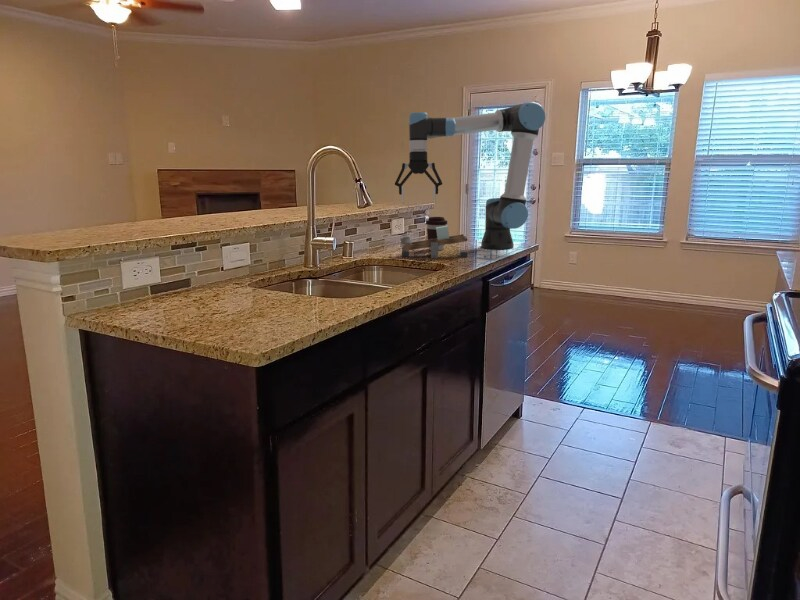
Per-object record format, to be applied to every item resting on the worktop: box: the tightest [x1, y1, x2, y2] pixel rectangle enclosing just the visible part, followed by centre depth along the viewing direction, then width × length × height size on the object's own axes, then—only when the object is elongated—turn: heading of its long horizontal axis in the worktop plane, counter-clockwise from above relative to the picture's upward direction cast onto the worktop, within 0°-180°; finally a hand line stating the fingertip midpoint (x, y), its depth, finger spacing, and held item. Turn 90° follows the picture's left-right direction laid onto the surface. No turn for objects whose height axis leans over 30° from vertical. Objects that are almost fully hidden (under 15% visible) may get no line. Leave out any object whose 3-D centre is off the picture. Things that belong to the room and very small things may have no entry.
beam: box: [400, 233, 468, 252], centre depth 241 cm, size 28×9×6 cm, turn 86°
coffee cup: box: [425, 216, 448, 251], centre depth 261 cm, size 10×10×15 cm
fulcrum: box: [401, 242, 468, 259], centre depth 242 cm, size 28×12×7 cm, turn 87°
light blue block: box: [436, 225, 450, 240], centre depth 241 cm, size 5×5×6 cm
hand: (418, 202), depth 240 cm, fingers open, 13 cm apart
